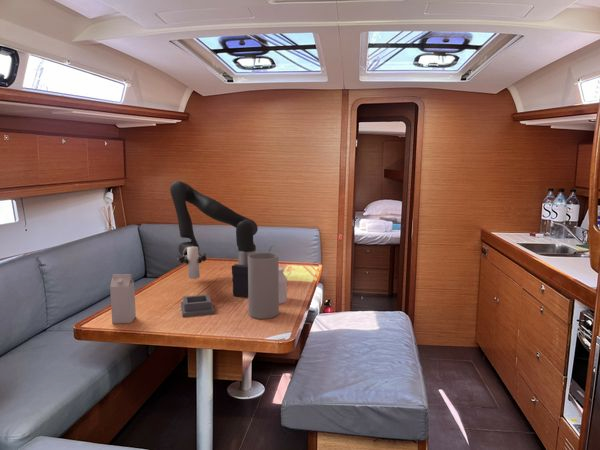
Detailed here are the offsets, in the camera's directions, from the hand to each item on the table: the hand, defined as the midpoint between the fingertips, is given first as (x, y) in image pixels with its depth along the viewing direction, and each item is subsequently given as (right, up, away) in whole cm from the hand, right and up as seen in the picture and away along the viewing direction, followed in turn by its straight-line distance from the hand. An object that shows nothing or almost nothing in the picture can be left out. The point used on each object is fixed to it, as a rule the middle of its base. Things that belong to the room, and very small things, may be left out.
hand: (193, 261), depth 200 cm
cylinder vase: (+33, -21, -17) cm, 43 cm away
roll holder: (+4, -20, -11) cm, 23 cm away
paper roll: (-1, -8, +4) cm, 8 cm away
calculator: (+22, -17, +7) cm, 29 cm away
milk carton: (-22, -22, -24) cm, 39 cm away
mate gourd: (+28, -10, +57) cm, 65 cm away
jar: (+37, -18, +2) cm, 41 cm away
